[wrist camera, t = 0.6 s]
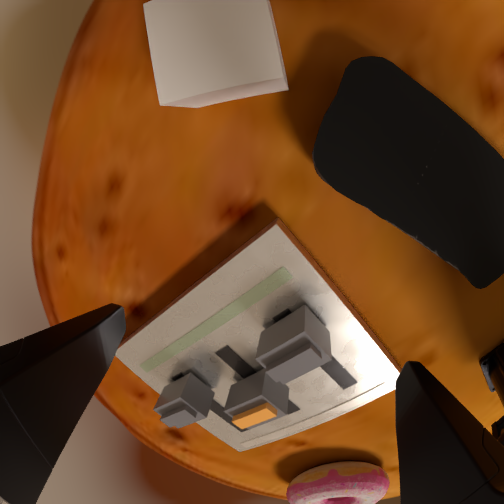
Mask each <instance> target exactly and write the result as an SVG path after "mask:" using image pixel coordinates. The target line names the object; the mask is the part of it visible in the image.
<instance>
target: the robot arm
mask: <svg viewBox="0 0 504 504" xmlns="http://www.w3.org/2000/svg"><path fill="white" fill-rule="evenodd" d="M125 331H126V323H125V314H124V308H123V307H122V306H120V305H117V304H113V303H111V304H108V305H105V306H103V307H100V308H98V309H95V310H93V311H90V312H87V313H85V314H82V315H80V316H77V317H75V318H72V319H70V320H67V321H65V322H62V323H60V324H57V325H54V326H52V327H49V328H47V329H44V330H42V331H39V332H37V333H34V334H32V335H29V336H27V337H24V339H23V338H22V339H19V340H17V341H14V342H11V343H9V344H6V345H3V346H0V504H2V502H3V500H4V501H5V502H7V503H8V504H36V502H37V500H38V498H39V496H40V494H41V492H42V490H43V488H44V486H45V484H46V482H47V480H48V478H49V476H50V474H51V472H52V469H53V468H54V465H55V464H56V462H57V460H58V458H59V456H60V454H61V452H62V450H63V449H64V447H65V445H66V443H67V441H68V439H69V437H70V436H71V433H72V432H73V430H74V428H75V426H76V424H77V423H78V421H79V419H80V417H81V415H82V414H83V412H84V410H85V409H86V407H87V405H88V403H89V402H90V400H91V398H92V396H93V395H94V393H95V391H96V390H97V388H98V386H99V384H100V383H101V381H102V379H103V378H104V376H105V374H106V372H107V371H108V369H109V367H110V365H111V362H112V360H113V358H114V356H115V353H116V351H117V349H118V347H119V345H120V343H121V340H122V338H123V336H124V334H125ZM480 366H481V368H482V371H483V373H484V376H485V378H486V381H487V384H488V386H489V389H490V391H491V392H494V391H495V390H496V392H497V394H498V396H499V398H500V400H501V402H502V404H503V406H504V343H503V344H501V345H500V346H499V347H497V348H496V349H495V350H493V351H492V352H491V353H489V354H488V355H486V356H485V357H484V358H482V359H481V360H480ZM395 398H396V435H397V446H398V458H399V474H400V496H401V504H504V416H502V417H501V418H500V419H499V420H498V421H497V422H494V423H493V424H492V425H491V426H492V435H493V436H492V435H491V433H490V432H489V431H488V430H487V429H486V428H483V425H482V424H481V423H480V422H479V421H478V420H477V419H476V418H475V417H474V416H473V415H472V414H471V413H470V412H469V411H468V410H467V409H466V408H465V407H464V406H463V405H462V404H461V403H460V402H459V401H458V400H457V399H456V398H455V397H454V396H453V395H452V394H451V393H450V392H449V391H448V390H447V389H446V388H445V387H444V386H443V385H442V384H441V383H440V382H439V381H438V380H437V379H436V378H435V377H434V376H433V375H432V374H431V373H430V372H429V371H428V370H427V369H426V368H425V367H424V366H423V365H422V364H421V363H420V362H418V361H407V362H406V363H405V365H404V367H403V369H402V370H401V372H400V374H399V376H398V377H397V380H396V384H395Z"/></svg>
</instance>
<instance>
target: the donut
mask: <svg viewBox="0 0 504 504" xmlns="http://www.w3.org/2000/svg"><path fill="white" fill-rule="evenodd" d="M388 487H389V477H388V475H387V473H386V472H385V471H384V470H383V469H382V468H381V467H379V466H376V465H373V464H370V463H366V462H357V461H346V462H335V463H329V464H324V465H321V466H317V467H314V468H312V469H309V470H307V471H305V472H303V473H302V474H300V475H298V476H297V477H295V478H294V479H293V480H292V482H291V483H290V484H289V486H288V488H287V493H286V495H287V499H288V501H289V503H290V504H375V503H376V502H378V501H379V500H380V499H381V498H382V497H383V496H384V495H385V494H386V492H387V490H388Z"/></svg>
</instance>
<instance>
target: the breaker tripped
mask: <svg viewBox="0 0 504 504" xmlns="http://www.w3.org/2000/svg"><path fill="white" fill-rule="evenodd" d="M265 370H266V369H265V368H264V369H262V370H260V371H259V372H257V373H255V374H253V375H251V376H249V377H247V378H245V379H243V380H241V381H239V382H237V383H234V384H232V385H231V387H230V390H229V394H228V397H227V401H226V404H225V407H224V412H225V413H226V414H228V415H229V416H230V417H232V423H234V424H235V425H236V426H238V427H239V428H241V429H244V428H247V429H248V430H249V429H252V428H255V427H257V426H260V425H263V424H265V423H268V422H271V421H273V420H276V419H278V418H281V417H283V416H286V415H287V409H288V399H289V387H288V386H287V385H286V384H284V385H283V384H282V383H281V382H280V381H279V382H275V381H274V380H273V379H272V378H271V377H270V376H269V375H268V374H266V373H265Z"/></svg>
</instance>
